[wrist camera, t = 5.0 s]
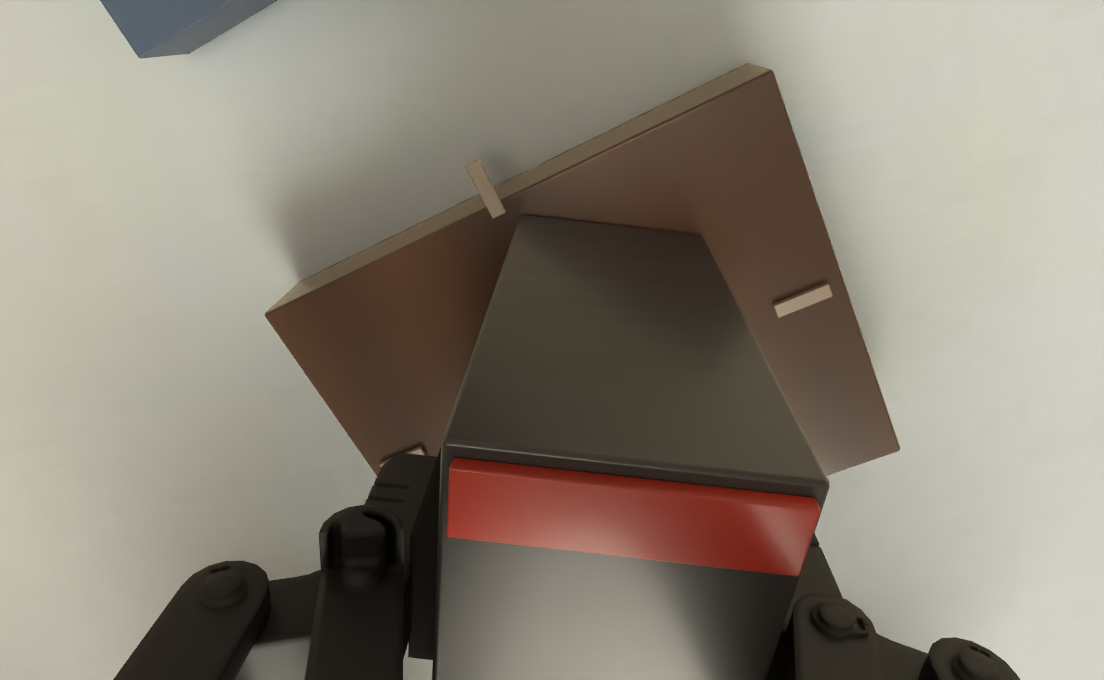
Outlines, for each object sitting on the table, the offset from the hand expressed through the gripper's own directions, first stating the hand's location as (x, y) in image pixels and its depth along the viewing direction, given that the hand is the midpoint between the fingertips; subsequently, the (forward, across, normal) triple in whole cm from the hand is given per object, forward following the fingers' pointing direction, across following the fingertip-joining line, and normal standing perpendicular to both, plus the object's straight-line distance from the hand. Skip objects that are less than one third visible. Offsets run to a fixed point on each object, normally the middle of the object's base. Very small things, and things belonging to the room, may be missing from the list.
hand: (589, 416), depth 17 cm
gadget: (+2, 0, 0) cm, 2 cm away
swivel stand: (+4, 0, 0) cm, 4 cm away
